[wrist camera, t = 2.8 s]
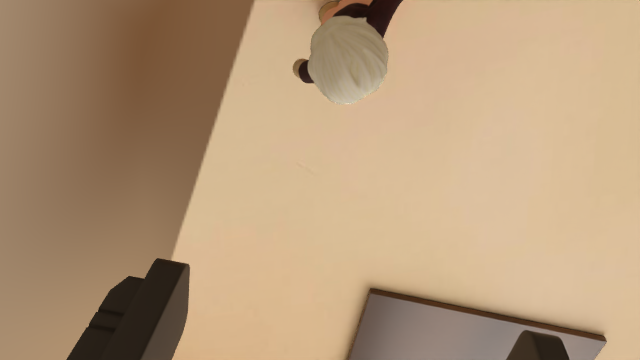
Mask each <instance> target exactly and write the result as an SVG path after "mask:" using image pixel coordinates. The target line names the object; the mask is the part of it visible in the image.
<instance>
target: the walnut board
mask: <svg viewBox="0 0 640 360" xmlns="http://www.w3.org/2000/svg"><path fill="white" fill-rule="evenodd" d="M524 330H529V331H534V332H539V333H545V334H550V335H555V336H558V337H559V338H561V340H562V342H563V344H564V346H565V349H566V351H567V354H568V356H569V359H570V360H594V359H595V358H596V356H597V355H598V353H599V352H600V351H601V349H602V348H603V347H604V345H605V344H606V342H607V341H606V339H605V337H604V336H600V335H595V334H590V333H586V332H581V331H576V330H571V329H566V328H561V327H556V326H551V325H547V324H542V323H537V322H532V321H527V320H522V319H517V318H512V317H508V316H503V315H498V314H493V313H488V312H483V311H478V310H473V309H469V308H464V307H459V306H454V305H449V304H444V303H439V302H434V301H430V300H425V299H420V298H415V297H410V296H405V295H400V294H395V293H391V292H386V291H381V290H376V289H370V291H369V294H368V297H367V300H366V303H365V306H364V310H363V313H362V316H361V319H360V322H359V325H358V328H357V331H356V334H355V337H354V340H353V343H352V346H351V349H350V353H349V356H348V359H347V360H506V359H507V357H508V355H509V353H510V352H511V350H512V348H513V346H514V344H515V343H516V341H517V339H518V337H519V335H520V334H521V333H522V332H523V331H524Z"/></svg>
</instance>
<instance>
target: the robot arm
mask: <svg viewBox="0 0 640 360" xmlns="http://www.w3.org/2000/svg"><path fill="white" fill-rule="evenodd" d="M189 275H190V267H189V264H185V263H180V262H175V261H170V260H165V259H159V258H157V259H156V260H155V261H154V263H153V264H152V266H151V268H150V270H149V271H148V273H147V275H146V277H145V279H142V278H137V277H132V276H128V277H127V278H126V279H124V280H123V281H122V282H121V283H119V284H118V285H116V286H115V287H114V288H112V289H111V290H110V291H109V293H108V295H107V296H106V298H105V299H104V301H103V302H102V304H101V306H100V307H99V310H98V312H96V313H95V315H94V317H93V318H92V320H91V322H90V323H89V326H88V327H87V328H86V330H85V331H84V333H83V334H82V336H81V337H80V339H79V340H78V342H77V344H76V345H75V347H74V348H73V350H72V352H71V353H70V355H69V357H68V358H67V360H172V357H173V355H174V353H175V350H176V348H177V345H178V343H179V341H180V338H181V336H182V333H183V330H184V327H185V323H186V319H187V313H188V298H189ZM506 360H570V359H569V356H568V354H567V351H566V349H565V346H564V344H563V342H562V340H561V338H559V337H558V336H555V335H550V334H545V333H539V332H534V331H529V330H524V331H523V332H522V333H521V334H520V335H519V337H518V339H517V341H516V343H515V344H514V346H513V348H512V350H511V352H510V353H509V355H508V357H507V359H506Z"/></svg>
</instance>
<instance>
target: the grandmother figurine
mask: <svg viewBox="0 0 640 360" xmlns="http://www.w3.org/2000/svg"><path fill="white" fill-rule="evenodd" d="M402 1H403V0H341V1H340V2H339V3H338V2H329V3H327V4H326V5H324V6H323V7H322V8H321V10H320V12H319V18H320V21H321V26H320V27H319V28H318V29H317V30H316V31H315V33H314V34H313V36H312V40H311V55H310V58H309V60H306V59H299V60H297V61H296V62H295V63H294V65H293V72H294V74H295V75H296V76H297V77H299V78H301V80H302V81H303V82H305V83H315V84H316V86H317V87H318V89H319V90H320V91H321V92H322V94H323V95H324V96H326V97H327V98H328V99H329V100H330V101H331V102H334V103H337V104H353V103H355V102H357V101H359V100H361V99H363V98H364V97H365V96H367V95H369V94H371V93H372V92H374V91H376V90H377V89H378V88H379V86H380V85H381V84H382V83H383V81H384V78H385V75H386V73H387V63H388V48H387V46H386V43H385V42H384V40H383V37H384V35H385V32H386V29H387V27H388V25H389V22H390V20H391V18H392V16H393V14H394V13H395V11H396V9H397V7H398V6H399V4H400V3H401V2H402Z"/></svg>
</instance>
